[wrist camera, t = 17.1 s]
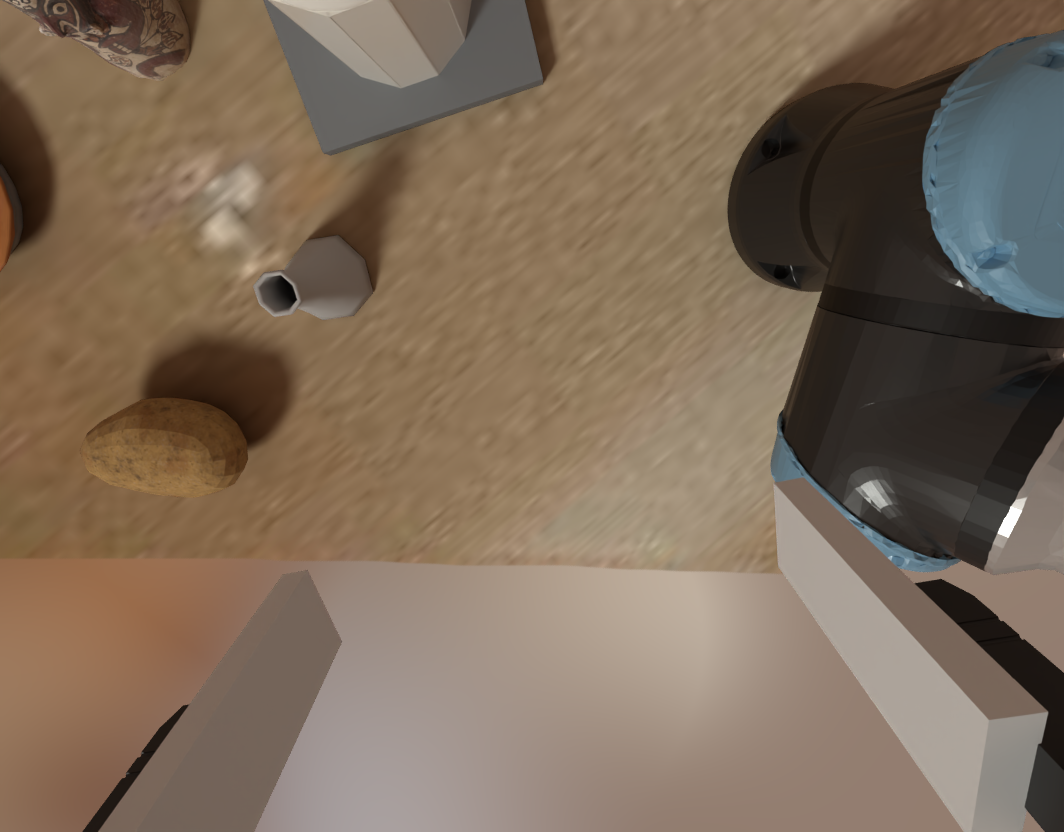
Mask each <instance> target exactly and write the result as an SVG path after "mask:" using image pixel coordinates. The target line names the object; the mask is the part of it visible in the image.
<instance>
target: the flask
mask: <svg viewBox="0 0 1064 832" xmlns="http://www.w3.org/2000/svg"><path fill="white" fill-rule="evenodd" d="M253 287H254V290H255V293H256V296H257V299H258V302H259V304H260V305H261V306H262V307H263V308H264V309H266V310H267V311H268V312H269V313H270V314H272V315H273V316H274V317H276V316H283V315H290V314H293V313H294V312H295V311H296V309H297V308H298V309H301V310H303V311H306V312H308V313H310V314H312V315H314V316H316V317H318V318H320V319H322V320H327V319H333V318H340V317H347V316H354V315H355V313H356V312H357V311H358V310H359V309H360V308H361V306H362V305H363V304H364V303H365V302H366V301H367V299H368V298H369V297H370V296H371V295H372V294H373V290H372V286H371V282H370V278H369V274H368V270H367V267H366V263H365V259H363V258H362V257H361V256H360V255H359V254H358V253H357V252H356V251H355V250H354V249H353V248H352V247H351V246H349V245H348V244H347V243H346V242H345V241H344V240H343V239H342V238H341V237H340V236H339V235H335V236H329V237H323V238H316V239H310V240H306V241H305V242H304V244H303V245H302V246H301V247H300V249H299V250H298V251H297V253H296V254H295V255H294V256H293V258H292V259H291V260H290V262H289V263H288V264H287V266H286V268H285V270H277V271H271V272H264V273H263V274H262V275H261V276H260V278H259V279H258V280H257V282H256V283H255V284H254V286H253Z"/></svg>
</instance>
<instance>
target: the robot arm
mask: <svg viewBox="0 0 1064 832" xmlns="http://www.w3.org/2000/svg"><path fill="white" fill-rule="evenodd" d="M728 223H729V229H730V233H731V237H732V240H733V243H734V245H735V248H736V250H737V251H738V253H739V255H740V257H741V258H742V260H743V261H744V262H745V264H746V265H747V266H748V267H749V268H750V269H751V270H752V271H753V272H754V273H756V274H757V275H758V276H760V277H761V278H763V279H764V280H766V281H768V282H770V283H772V284H775V285H778V286H781V287H785V288H789V289H793V290H797V291H806V292H820V291H822V293H821V296H820V300H819V303H818V305H817V308H816V311H815V314H814V317H813V320H812V323H811V327H810V330H809V333H808V336H807V339H806V342H805V345H804V348H803V351H802V354H801V357H800V360H799V363H798V367H797V370H796V373H795V376H794V379H793V382H792V385H791V388H790V391H789V394H788V397H787V400H786V403H785V406H784V409H783V410H782V411H781V413H780V414H779V417H778V421H777V430H778V433H777V437H776V441H775V445H774V449H773V453H772V457H771V474H772V476H773V478H774V480H775V483H774V498H775V516H776V535H777V553H778V567H779V568H780V570H781V571H782V573H783V574H784V575H785V577H786V578H787V580H788V581H789V583H790V584H791V585H792V587H793V588H794V589H795V591H796V592H797V594H798V595H799V597H800V598H801V600H802V601H803V603H804V604H805V605H806V607H807V608H808V610H809V611H810V613H811V614H812V615H813V617H814V618H815V620H816V621H817V623H818V624H819V625H820V627H821V628H822V630H823V631H824V633H825V634H826V635H827V637H828V638H829V640H830V641H831V643H832V644H833V645H834V647H835V648H836V650H837V651H838V652H839V654H840V655H841V657H842V658H843V660H844V661H845V663H846V664H847V665H848V667H849V668H850V670H851V671H852V673H853V674H854V675H855V677H856V678H857V680H858V681H859V682H860V684H861V685H862V687H863V688H864V690H865V691H866V693H867V694H868V695H869V697H870V698H871V699H872V701H873V703H874V704H875V705H876V707H877V708H878V710H879V711H880V713H881V714H882V715H883V717H884V718H885V720H886V721H887V722H888V724H889V725H890V727H891V728H892V730H893V731H894V733H895V734H896V735H897V737H898V738H899V740H900V741H901V743H902V744H903V745H904V747H905V748H906V750H907V751H908V752H909V754H910V755H911V757H912V758H913V760H914V761H915V763H916V764H917V765H918V767H919V768H920V770H921V771H922V773H923V774H924V775H925V777H926V778H927V780H928V781H929V783H930V784H931V785H932V787H933V788H934V790H935V791H936V793H937V794H938V795H939V797H940V798H941V799H942V801H943V802H944V804H945V805H946V807H947V808H948V810H949V811H950V812H951V814H952V815H953V817H954V818H955V820H956V821H957V823H958V824H959V825H960V827H961V828H962V830H963V831H964V832H1022V829H1023V825H1024V820H1025V816H1026V811H1028V812H1029V813H1030V814H1031V816H1032V817H1033V818H1034V819H1035V820H1036V821H1037V823H1038V824H1039V825H1040V826H1041V828H1042V829H1043V830H1044V831H1045V832H1064V673H1063V672H1062V671H1061V670H1060V669H1059V668H1058V667H1056V666H1055V665H1054V664H1053V663H1052V662H1050V661H1049V660H1048V659H1047V658H1046V657H1045V656H1043V655H1042V654H1041V653H1040V652H1039V651H1038V650H1036V649H1035V648H1034V647H1033V646H1032V645H1031V644H1029V643H1028V642H1027V641H1026V640H1025V639H1024V640H1022V639H1021V638H1020V636H1019V634H1018V633H1017V632H1015V631H1014V630H1013V629H1012V628H1011V627H1009V626H1008V625H1007V624H1006V623H1005V622H1004V621H1000V620H999V618H998V616H996V614H994V613H993V612H992V611H991V610H990V609H989V608H987V607H986V606H985V605H984V604H983V603H982V602H980V601H979V600H978V599H977V598H976V597H975V596H973V595H971V594H970V593H968V592H966V591H964V590H962V589H960V588H958V587H956V586H954V585H952V584H950V583H948V582H946V581H944V580H942V579H939V580H932V581H926V582H921V583H913V582H912V581H911V580H910V579H909V578H908V577H907V576H906V575H905V574H904V573H903V572H902V571H901V570H900V569H899V568H901V569H905V570H910V571H916V572H933V571H941V570H944V569H946V568H948V567H950V566H951V565H954V564H956V563H958V562H960V561H961V560H962V561H964V562H967V563H969V564H971V565H973V566H975V567H977V568H979V569H981V570H983V571H986V572H988V573H990V574H992V575H999V574H1007V573H1014V572H1021V571H1028V570H1035V569H1043V570H1055V571H1057V572H1059V573H1062V574H1064V358H1063V356H1062V355H1063V353H1064V30H1061V31H1058V32H1054V33H1051V34H1042V35H1037V36H1033V37H1025V38H1020V39H1017V40H1016V41H1014V42H1012V43H1006V44H1003V45H1001V46H998V47H996V48H995V49H993V50H991V51H989V52H988V53H986V54H985V55H983V56H981V57H978V58H975V59H973V60H970V61H967V62H965V63H962V64H960V65H957V66H954V67H952V68H949V69H947V70H944V71H941V72H939V73H936V74H933V75H931V76H928V77H926V78H923V79H920V80H918V81H915V82H913V83H910V84H907V85H905V86H902V87H899V88H897V89H892V88H887V87H883V86H878V85H873V84H866V83H850V84H841V85H836V86H832V87H828V88H825V89H822V90H819V91H817V92H814V93H812V94H810V95H808V96H805V97H803V98H801V99H799V100H797V101H795V102H793V103H791V104H790V105H788V106H786V107H785V108H783V109H782V110H781V111H779V112H778V113H777V114H775V115H774V116H773V117H772V118H771V119H770V120H769V121H767V122H766V123H765V124H764V125H763V127H762V128H761V129H760V130H759V131H758V132H757V133H756V135H755V136H754V137H753V139H752V140H751V141H750V143H749V144H748V146H747V147H746V149H745V151H744V152H743V154H742V156H741V158H740V160H739V162H738V165H737V167H736V170H735V172H734V175H733V178H732V182H731V186H730V191H729V198H728ZM341 643H342V641H341V638H340V636H339V634H338V632H337V630H336V628H335V626H334V624H333V622H332V620H331V618H330V616H329V614H328V611H327V609H326V607H325V605H324V603H323V601H322V599H321V597H320V595H319V593H318V591H317V589H316V586H315V585H314V582H313V580H312V579H311V576H310V574H309V572H308V570H305V571H300V572H295V573H289V574H284V575H282V577H281V578H280V579H279V581H278V582H277V583H276V585H275V586H274V588H273V589H272V590H271V592H270V593H269V595H268V596H267V598H266V599H265V600H264V601H263V603H262V604H261V606H260V607H259V608H258V610H257V611H256V613H255V614H254V615H253V617H252V618H251V620H250V621H249V622H248V624H247V625H246V627H245V628H244V629H243V631H242V632H241V634H240V635H239V636H238V638H237V639H236V641H235V642H234V643H233V645H232V646H231V648H230V649H229V650H228V652H227V653H226V654H225V656H224V657H223V659H222V660H221V661H220V663H219V664H218V666H217V667H216V668H215V670H214V671H213V672H212V674H211V676H210V677H209V678H208V679H207V681H206V682H205V684H204V685H203V686H202V688H201V689H200V691H199V692H198V693H197V695H196V696H195V698H194V699H193V700H192V702H191V703H190V704H189V705H184V706H182V707H181V708H180V709H179V710H178V711H177V712H176V713H175V714H174V715H173V716H172V717H171V718H170V719H169V720H168V721H167V722H165V723H164V724H163V725H162V726H161V727H160V728H159V729H158V731H157V732H156V734H155V735H154V736H153V738H152V739H151V740H150V742H149V743H148V744H147V746H146V747H145V748H144V750H143V751H142V753H141V754H142V755H141V757H139V758H137V759H136V761H135V762H134V763H133V764H132V766H131V767H130V768H129V770H128V771H127V773H126V777H125V778H122V779H121V781H120V782H119V783H118V785H117V786H116V787H115V789H114V790H113V791H112V793H111V794H110V795H109V797H108V798H107V800H106V801H105V802H104V803H103V805H102V806H101V808H100V809H99V810H98V812H97V813H96V814H95V816H94V817H93V818H92V820H91V821H90V822H89V824H88V825H87V826H86V828H85V829H84V830H83V832H254V831H255V829H256V826H257V824H258V822H259V820H260V818H261V816H262V813H263V811H264V808H265V807H266V805H267V803H268V800H269V798H270V796H271V794H272V792H273V789H274V787H275V785H276V783H277V781H278V779H279V777H280V775H281V772H282V770H283V768H284V766H285V764H286V762H287V759H288V757H289V755H290V753H291V751H292V748H293V746H294V744H295V742H296V740H297V738H298V735H299V733H300V731H301V729H302V727H303V724H304V723H305V720H306V718H307V716H308V714H309V712H310V710H311V708H312V705H313V703H314V701H315V699H316V697H317V694H318V692H319V690H320V688H321V686H322V684H323V681H324V679H325V677H326V675H327V673H328V671H329V669H330V666H331V664H332V662H333V660H334V658H335V656H336V653H337V651H338V649H339V647H340V645H341Z"/></svg>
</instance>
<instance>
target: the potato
mask: <svg viewBox="0 0 1064 832" xmlns="http://www.w3.org/2000/svg"><path fill="white" fill-rule="evenodd" d="M80 454H81V456H82V458H83V461H84V463H85V465H86V467H87V469H88V472H90V473H92V474H93V475H95V476H97V477H98V478H100V479H102V480H103V481H105V482H107V483H108V484H111V485H115V486H119V487H123V488H128V489H132V490H136V491H141V492H146V493H151V494H157V495H165V496H173V497H190V498H194V497H199V496H203V495H207V494H211V493H214V492H218V491H221V490H223V489H225V488H227V487H229V486H231V485H233V484H235V482H236V480H237V479H238V477H239V476H240V474H241V473H242V471H243V470H244V468H245V465H246V463H247V460H248V453H247V442H246V439H245V437H244V435H243V433H242V431H241V429H240V427H239V426H238V424H237V423H236V422H235V421H234V420H233V419H232V418H231V417H230V416H229V415H227V414H226V413H225V412H224V411H222V410H220V409H218V408H216V407H214V406H212V405H210V404H207V403H202V402H198V401H193V400H187V399H180V398H154V399H144V400H140V401H138V402H136V403H134V404H132V405H130V406H129V407H127V408H125V409H123V410H121V411H119V412H117V413H116V414H114V415H112V416H110V417H108V418H107V419H105V420H103V421H102V422H100V423H99V424H98V425H97V426H95V427H94V428H93V429H92V430H91V431H89V432H88V433H87V435H86V438H85V440H84V442H83V444H82V446H81V448H80Z"/></svg>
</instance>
